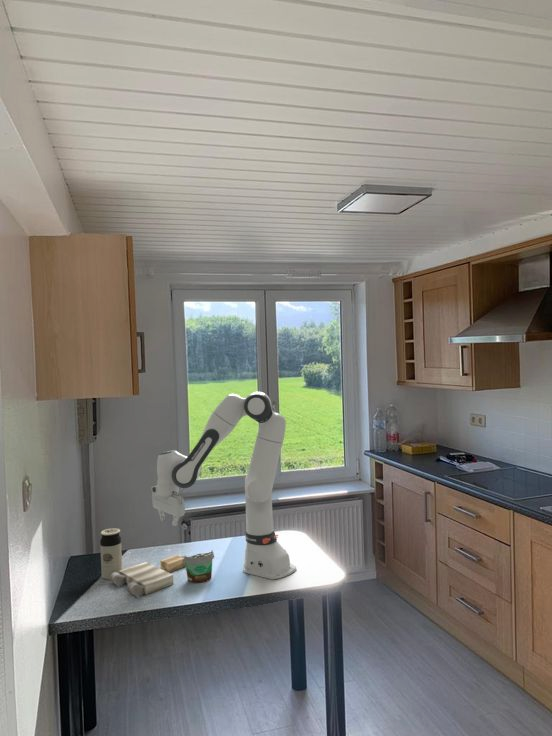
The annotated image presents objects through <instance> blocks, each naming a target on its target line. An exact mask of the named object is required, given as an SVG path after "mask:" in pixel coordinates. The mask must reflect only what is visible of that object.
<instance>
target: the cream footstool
mask: <svg viewBox="0 0 552 736" xmlns="http://www.w3.org/2000/svg"><path fill="white" fill-rule="evenodd" d="M108 580H109V581H110V582H111V583H112V584H115V585H116V586H118V587H122V586H123V585H124V584H127V588H126V589H127V592H128V593H130V594H132V595H133V596H135V597H136V598H140V597H142V596H143V595H148V593H149V594H151V593H153V592H156V591H159V590H161V589H164V588H167V587H169V586H172V585H174V574H173V573H171V572H167V571H165V570H163V569H161V567H158V566H156V565H154V564H153V563H150V562H147V561H144V562H142V563H138V564H135V565H132V566H129V567H127V568H124V569H123V568H122V570H120V571H119V572H118V573H116V572H113V573H112V574H111V575H110V577H109V579H108Z"/></svg>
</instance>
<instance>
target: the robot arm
mask: <svg viewBox="0 0 552 736" xmlns="http://www.w3.org/2000/svg"><path fill="white" fill-rule="evenodd" d="M272 404H273V403H272V400H271V398H270V396H269V395H268V394H266V393H265V392H264V391H263V392H262V391H254V392H252V393H250V394H249V395H247V396H246V397H242V396H240V395H238V394H235V393H230V394H227V395H226V396H225V397H224V398H223V400H221V401H220V402H219V404H218V405H217V406H216V407H215V409H214V410H213V412H212V413H211V415H210V416H209V417H208V420H207V422H206V425H205V426H204V429H203V432H202V434H201V436H200V438H199V440H198V441H197V443H196V444H195V446H194V447H193V449H192V450H191V452H190V453H189V454H188V456H187V455H184V454H182V453H180V452H179V451H177V450H175V449H170V450H169V449H168V450H165V451H162V452H161V453H160V454H159V455H158V456H157V460H156V464H157V465H156V474H157V482H156V485H153V486H151V492H152V493H151V494H152V495H151V500H152V501H151V502H152V503H151V504H152V507H153V508H154V509H156V510H157V513H158V515H159V520H160V521H166V515H165V513H166V514H168V515H170V516H172V518H173V519H172V521H171V526H174V527H177V526H178V521H179V518H180V517H183V516H184V515H185V513H186V510H185V509H186V508H185V507H186V506H185V500H184V497H183V496H182V494H181V493H180V488H181V489H188V488H191V487H193V486H194V485H195V483H196V481H197V479H198V478H199V477H200V475H201V473H202V467H203V466H202V465H203V464H204V462H205V460H206V459H207V458H208V456H209V455H210V453H211V452H212V451H213V450H214V449H215V448H216V446H218V444H220V443H221V442H222V441H224V440H225V439H226V438H227V437H228V436H229V435H230V434H231V433H232V432H233V430H234V429H235V428H236V426H237V425H238V423H239V422H240V420H241V419H243V417H245V416H248V417H250V419H252V420H254V421H256V422H258V425H259V426H258V431H257V435H256V438H255V442H254V447H253V451H252V453H251V457H250V458H251V459H250V464H249V468H248V471H247V474H245V475H246V476H245V478H244V494H245V495H244V496H245V497H244V498H245V524H246V525H245V526H246V530H245V542H246V546H245V551H244V552H245V553H244V563H243V569H242V572H243V573H245V574H249V575H253V576H257V577H262V578H265V579H268V580H269V579H270V580H276V579H283V578H284V577H287V576H289V575H292V574H293V573H294V572H295V571H296V570H297V566H296V565H294V564H292V563H291V561H290V556H289V555H290V554H289V553H288V552H287V550H286V549H285V548H284V547H283V546H282V545H281V544H280V542H279V541H278V540H277V538H279V537H278V536H279V535H278V534H276V532H275V530H274V520H273V519H274V517H273V516H274V515H273V512H274V511H273V498H272V496H273V495H272V492H273V487H274V483H275V479H276V474H277V469H278V463H279V460H280V454H281V452H282V447H283V444H284V438H285V436H286V435H285V434H286V427H287V426H286V424H287V421H286V418H285V417H284V416H283V415H282V414H281V413H278V412H275V411H274V410H273V407H272V406H273V405H272Z"/></svg>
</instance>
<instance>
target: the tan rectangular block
mask: <svg viewBox="0 0 552 736" xmlns="http://www.w3.org/2000/svg"><path fill="white" fill-rule="evenodd" d="M183 560H184V555H182V554H180V553H178V554H175V555H172V556H169V557H167V558H162V559H161V560H159V561H160V569H162V570H164V571H166V572H168V573H171V572H173V571H176V570H179V569H181V568H186V564H185V562H184V561H183Z"/></svg>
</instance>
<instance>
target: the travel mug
mask: <svg viewBox="0 0 552 736" xmlns="http://www.w3.org/2000/svg"><path fill="white" fill-rule="evenodd" d="M120 532H121V529H120V528H106V529H104V530H103V529H102V531H101V532H100V535H101V538H100V542H99V544H100V568H101V578H103V579H105V580H110V579H109V577H110V575H111V574H112V573H113V572H116V573H118V572H119V571H120V570H123V556H122V537H121V535H120Z"/></svg>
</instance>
